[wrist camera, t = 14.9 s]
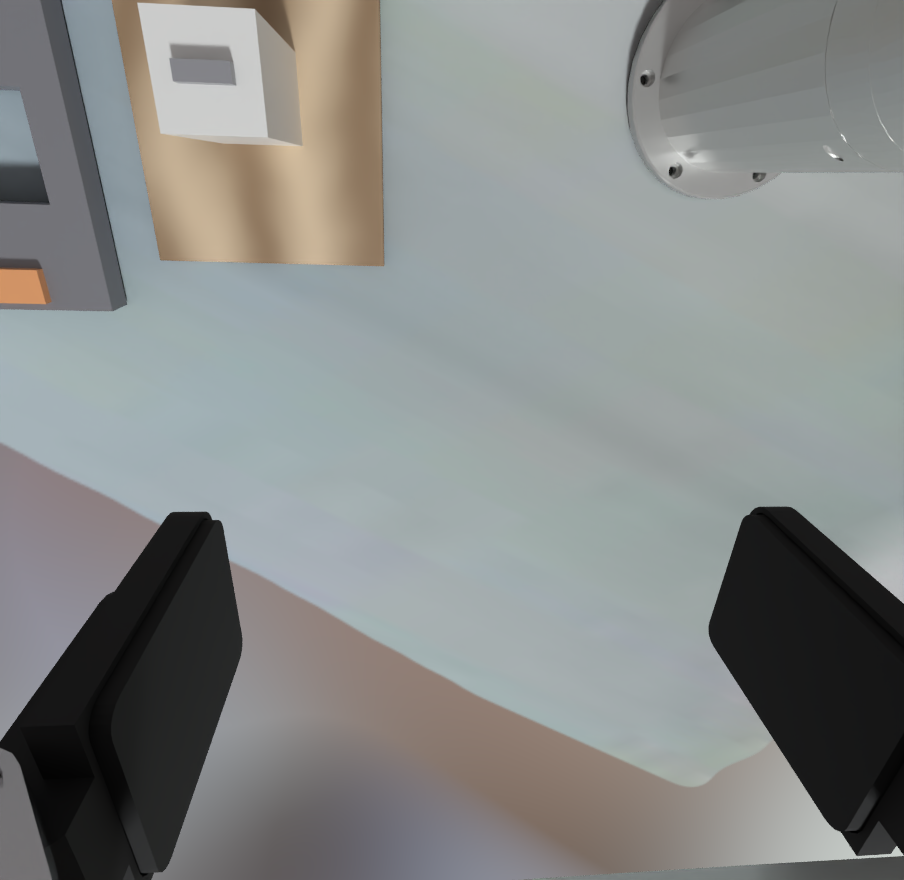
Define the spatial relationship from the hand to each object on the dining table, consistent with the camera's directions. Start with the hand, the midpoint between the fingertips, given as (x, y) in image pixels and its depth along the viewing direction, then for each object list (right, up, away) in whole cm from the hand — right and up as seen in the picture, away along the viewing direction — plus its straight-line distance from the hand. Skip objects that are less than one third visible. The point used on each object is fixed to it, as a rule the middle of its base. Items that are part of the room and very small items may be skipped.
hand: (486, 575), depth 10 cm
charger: (-12, +22, +21) cm, 33 cm away
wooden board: (-12, +22, +22) cm, 33 cm away
